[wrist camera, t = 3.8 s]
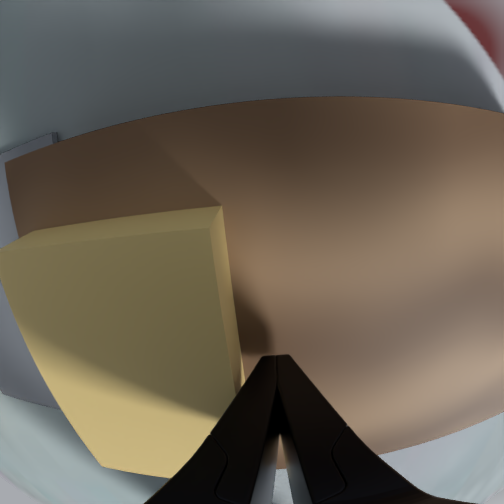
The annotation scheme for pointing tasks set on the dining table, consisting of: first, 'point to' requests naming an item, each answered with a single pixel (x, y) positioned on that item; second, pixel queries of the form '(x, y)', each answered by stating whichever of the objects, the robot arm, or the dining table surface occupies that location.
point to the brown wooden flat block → (325, 240)
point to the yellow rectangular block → (131, 331)
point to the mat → (3, 322)
